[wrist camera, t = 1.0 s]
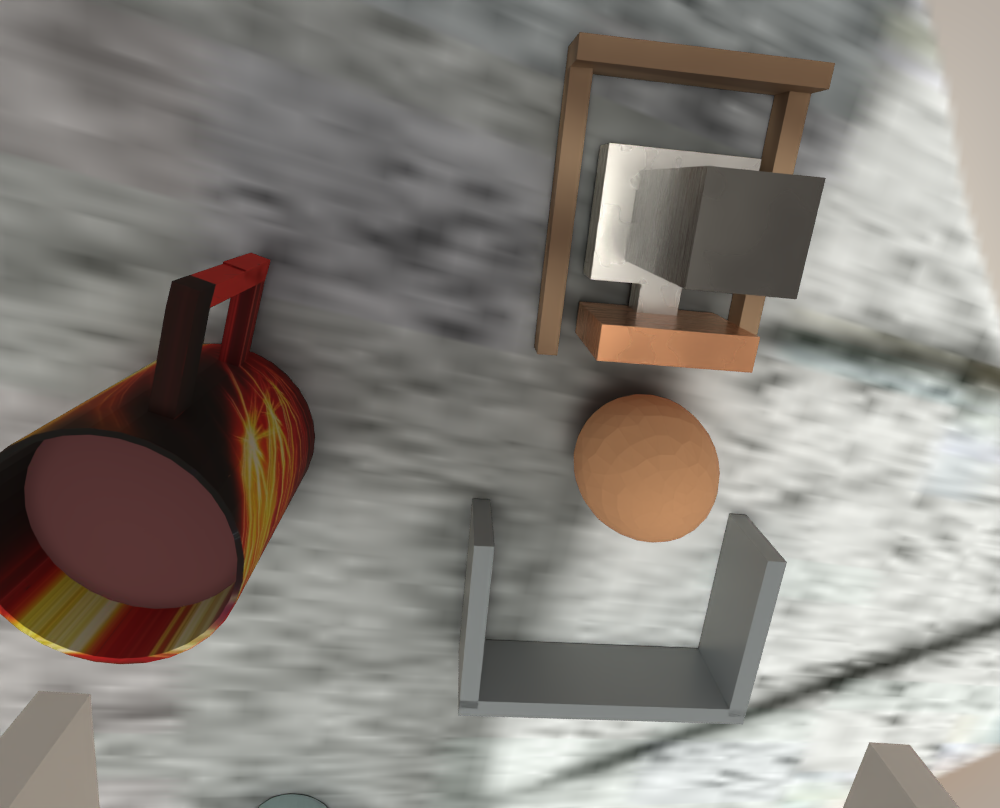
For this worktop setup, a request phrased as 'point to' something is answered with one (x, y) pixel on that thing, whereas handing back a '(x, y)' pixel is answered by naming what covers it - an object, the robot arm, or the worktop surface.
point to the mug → (155, 487)
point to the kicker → (690, 251)
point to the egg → (646, 468)
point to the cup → (292, 802)
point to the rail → (673, 66)
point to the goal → (624, 648)
